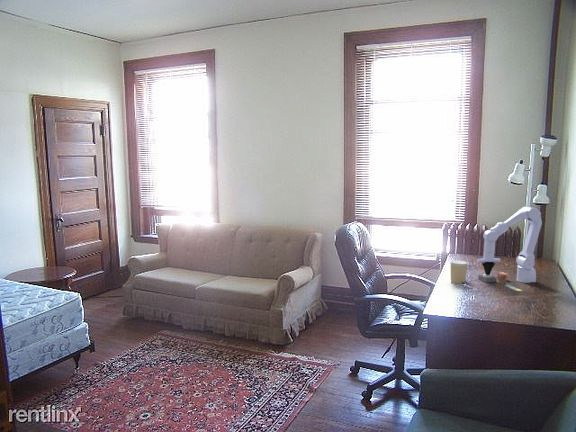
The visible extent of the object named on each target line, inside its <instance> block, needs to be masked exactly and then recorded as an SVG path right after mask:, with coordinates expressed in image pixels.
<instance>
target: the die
mask: <svg viewBox="0 0 576 432" xmlns="http://www.w3.org/2000/svg"><path fill="white" fill-rule="evenodd" d="M499 274H505V275H507V278H506V281H508V280H509V273H507V272H503V271H502V272H501V271H500V272H497V280H498V281H499Z"/></svg>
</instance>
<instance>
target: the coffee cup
mask: <svg viewBox="0 0 576 432" xmlns="http://www.w3.org/2000/svg"><path fill="white" fill-rule="evenodd" d="M449 264H450V283H451V284H455V285H465V284H466V278H467V272H468V262H467V261H465V260H464V261H463V260H457V259H456V260H451V261H450V263H449Z"/></svg>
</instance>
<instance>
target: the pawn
mask: <svg viewBox="0 0 576 432" xmlns="http://www.w3.org/2000/svg"><path fill="white" fill-rule="evenodd" d="M506 278H507V275H505V274H499V280H498V284H499V285H501V284H502V285H501V286H504V285H507V280H506Z"/></svg>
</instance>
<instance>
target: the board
mask: <svg viewBox="0 0 576 432" xmlns="http://www.w3.org/2000/svg"><path fill="white" fill-rule="evenodd" d="M477 278H478V280H479V281H482V282H484V283H496V282H497V280H498V279H497V278H498V276H494V275H492V277H489V278H486V277H484V276H483V274H478V277H477ZM500 285H501V286H504V287H506V288H510V289H512V290H514V291H515V292H516V291H517V292H522V291H523V289H520V288H517V287H515V286H512V285H510V284H505V285H502V284H500Z"/></svg>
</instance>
